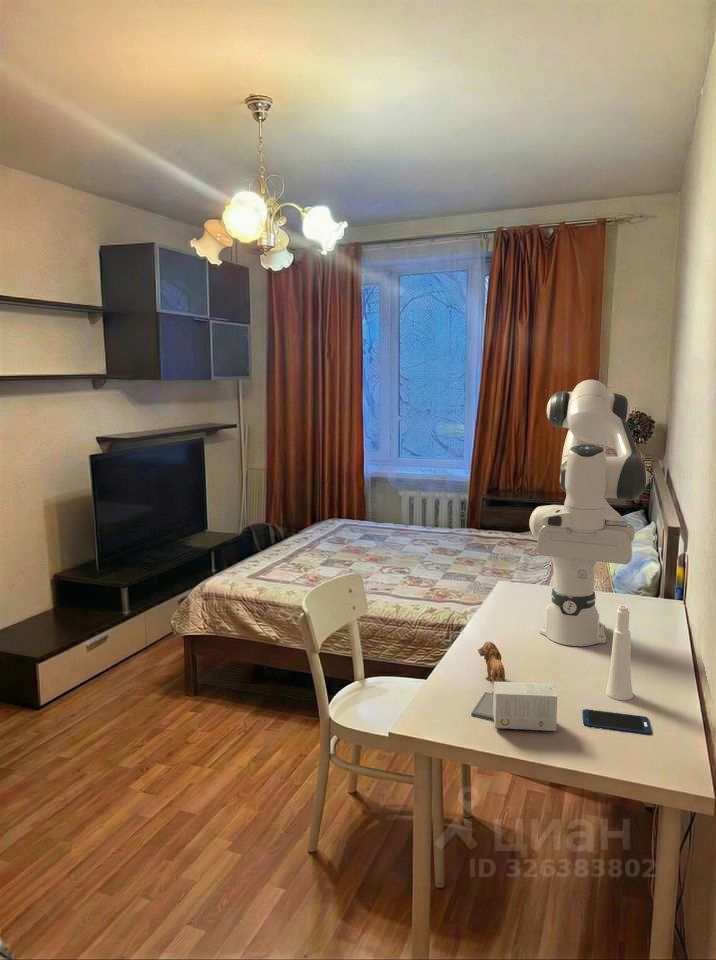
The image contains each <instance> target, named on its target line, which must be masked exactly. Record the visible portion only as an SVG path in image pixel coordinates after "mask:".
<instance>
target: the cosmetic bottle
mask: <svg viewBox="0 0 716 960" xmlns="http://www.w3.org/2000/svg"><path fill="white" fill-rule="evenodd" d="M617 608H618V609H617V610H616V619H615V628H614V629H613V637H612V646H611V647H612V648H611V658H610V668H609V673H608V674H609V675H608V680H607V686H606V689H605V693H606V695H607V696H608V697H610V698H611V699H615V700H618V701H629V700H631V699H632V698H633V696H634V692H633V684H632V673H631V672H632V670H631V667H632V666H631V665H632V664H631V660H632V659H631V658H632V657H631V656H632V655H631V654H632V653H631V649H632V648H631V646H632V644H631V643H632V642H631V641H632V639H631V631H630V630H629V627H630V610H629V607H628V606H627V605H618V607H617Z"/></svg>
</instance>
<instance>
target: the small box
mask: <svg viewBox="0 0 716 960" xmlns="http://www.w3.org/2000/svg"><path fill="white" fill-rule="evenodd" d="M492 692H493V716H494V720H493V723H494V728H495V729H508V730H528V731H529V730H530V731H538V730H541V731H549V732H550V731H553V732H556V731H557V716H558V715H557V713H558V694H557V691H556V689H555V687H554V684H553V683H552V682H551V683H549V682H525V681H523V682H521V681H520V682H517V681H505V682H502V681H500V682H498V681H496V682H494V689H493V691H492Z"/></svg>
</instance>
